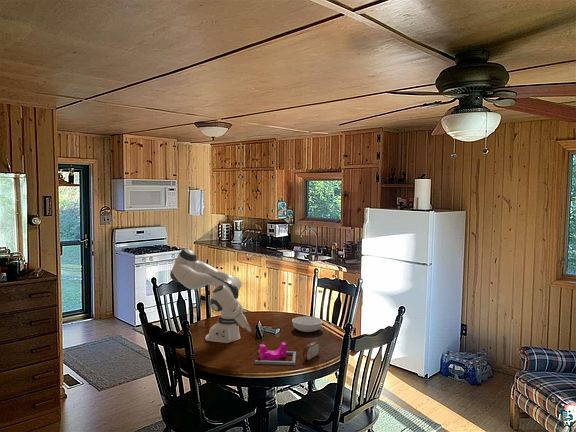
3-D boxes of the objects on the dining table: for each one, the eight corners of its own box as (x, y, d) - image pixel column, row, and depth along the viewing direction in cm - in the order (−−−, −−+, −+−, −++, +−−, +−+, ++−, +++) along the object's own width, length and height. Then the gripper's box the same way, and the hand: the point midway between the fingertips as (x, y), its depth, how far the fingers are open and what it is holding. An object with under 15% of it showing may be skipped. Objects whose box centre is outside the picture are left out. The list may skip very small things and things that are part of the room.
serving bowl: (320, 336, 289) (320, 326, 288) (289, 333, 293) (289, 323, 292) (323, 326, 309) (324, 317, 309) (294, 324, 313) (295, 315, 313)
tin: (315, 353, 258) (316, 339, 257) (320, 354, 256) (320, 340, 256) (302, 361, 245) (302, 346, 245) (306, 362, 244) (307, 347, 243)
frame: (254, 363, 240) (254, 361, 240) (258, 352, 257) (258, 350, 257) (294, 365, 239) (294, 362, 239) (296, 353, 256) (296, 351, 256)
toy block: (261, 361, 244) (262, 348, 244) (259, 357, 250) (259, 344, 250) (287, 358, 249) (287, 345, 248) (284, 354, 255) (284, 342, 254)
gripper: (229, 310, 257) (243, 328, 258) (231, 317, 236) (246, 336, 238) (238, 303, 258) (252, 321, 259) (240, 309, 237) (255, 329, 239)
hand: (249, 329), depth 248 cm, fingers open, 8 cm apart
